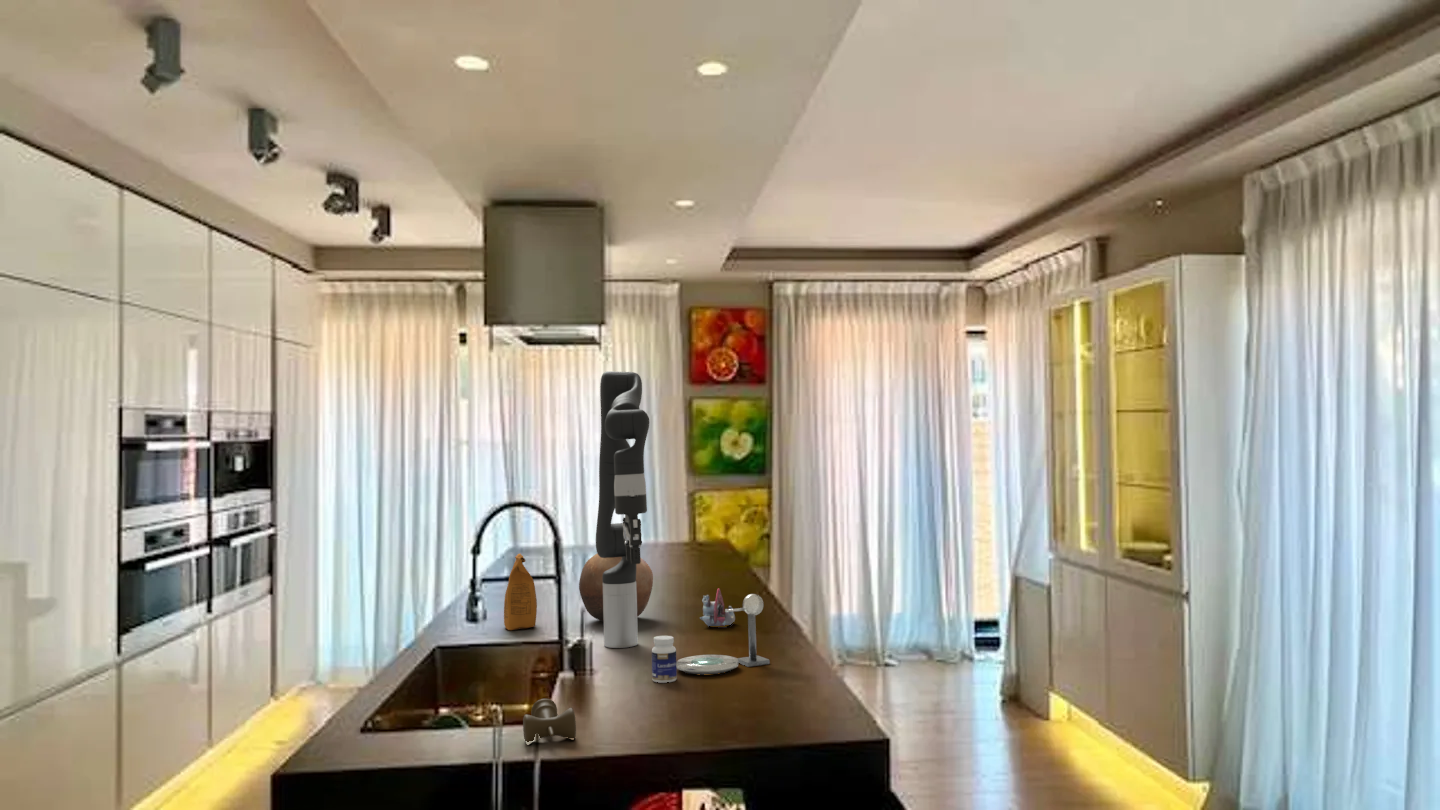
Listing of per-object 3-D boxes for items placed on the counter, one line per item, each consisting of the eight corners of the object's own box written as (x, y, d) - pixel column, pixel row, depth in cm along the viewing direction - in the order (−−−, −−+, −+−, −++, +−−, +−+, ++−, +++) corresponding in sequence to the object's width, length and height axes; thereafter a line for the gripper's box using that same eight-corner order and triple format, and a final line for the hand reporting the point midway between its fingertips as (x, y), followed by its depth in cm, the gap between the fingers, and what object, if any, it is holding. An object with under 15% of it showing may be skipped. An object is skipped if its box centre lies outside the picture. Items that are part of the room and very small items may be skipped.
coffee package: (536, 622, 312) (535, 552, 313) (537, 629, 300) (535, 556, 301) (504, 624, 310) (502, 553, 311) (503, 631, 298) (502, 558, 299)
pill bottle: (658, 684, 227) (657, 640, 227) (648, 679, 232) (647, 636, 232) (681, 681, 229) (679, 637, 230) (670, 676, 234) (669, 633, 235)
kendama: (568, 722, 200) (579, 748, 181) (520, 728, 198) (526, 755, 179) (567, 692, 201) (578, 715, 181) (518, 698, 198) (524, 722, 179)
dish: (666, 667, 243) (666, 659, 243) (721, 660, 250) (721, 651, 250) (692, 680, 230) (692, 671, 230) (749, 671, 237) (749, 662, 237)
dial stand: (721, 664, 245) (719, 595, 246) (757, 659, 250) (755, 591, 250) (732, 669, 240) (730, 598, 240) (769, 663, 244) (767, 594, 245)
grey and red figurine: (737, 621, 290) (712, 588, 292) (709, 643, 292) (684, 610, 294) (745, 614, 301) (720, 582, 303) (717, 636, 303) (693, 604, 305)
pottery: (590, 615, 322) (588, 537, 323) (660, 614, 319) (658, 536, 320) (570, 628, 300) (568, 545, 300) (645, 628, 296) (643, 544, 297)
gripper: (611, 494, 242) (614, 561, 241) (617, 494, 228) (621, 566, 227) (641, 492, 244) (645, 559, 243) (650, 493, 230) (653, 563, 229)
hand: (633, 562), depth 235 cm, fingers open, 8 cm apart
